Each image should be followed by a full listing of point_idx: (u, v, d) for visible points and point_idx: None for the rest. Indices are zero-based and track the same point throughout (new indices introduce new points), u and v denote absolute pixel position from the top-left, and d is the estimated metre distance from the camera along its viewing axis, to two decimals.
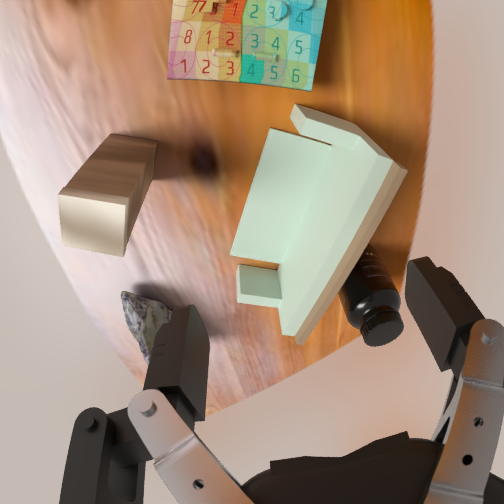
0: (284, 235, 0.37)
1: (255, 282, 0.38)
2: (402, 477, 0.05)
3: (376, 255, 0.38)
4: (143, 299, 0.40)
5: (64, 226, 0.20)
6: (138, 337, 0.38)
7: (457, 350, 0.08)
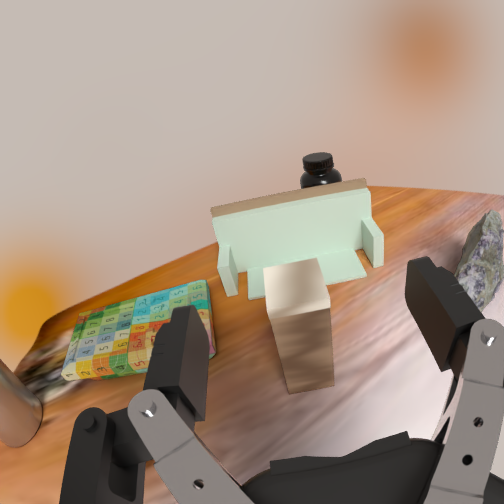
0: (327, 258, 0.46)
1: (369, 243, 0.42)
2: (402, 477, 0.05)
3: None
4: None
5: (303, 299, 0.23)
6: (475, 259, 0.29)
7: (457, 350, 0.08)
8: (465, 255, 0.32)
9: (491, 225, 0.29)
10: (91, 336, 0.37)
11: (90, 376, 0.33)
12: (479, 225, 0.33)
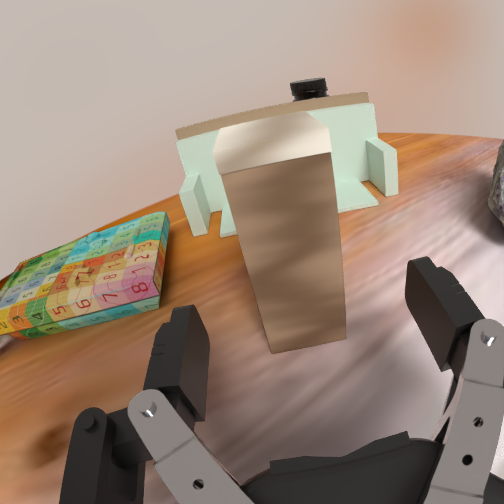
0: None
1: (377, 166, 0.32)
2: (402, 477, 0.05)
3: None
4: (498, 215, 0.21)
5: (279, 134, 0.12)
6: None
7: (457, 350, 0.08)
8: (501, 164, 0.22)
9: None
10: (20, 283, 0.26)
11: (7, 330, 0.22)
12: None
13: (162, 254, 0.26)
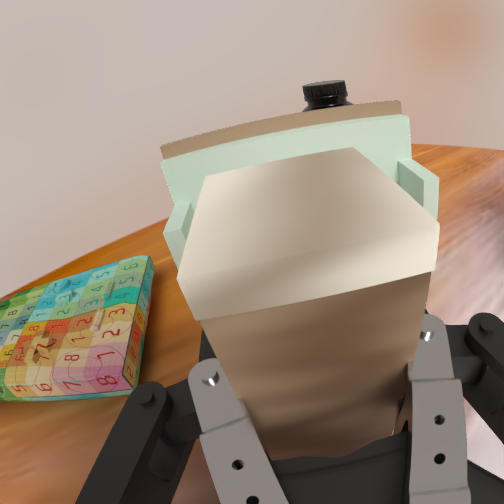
0: None
1: (413, 196, 0.25)
2: (402, 477, 0.05)
3: None
4: None
5: (333, 235, 0.05)
6: None
7: None
8: None
9: None
10: None
11: None
12: None
13: (139, 324, 0.19)
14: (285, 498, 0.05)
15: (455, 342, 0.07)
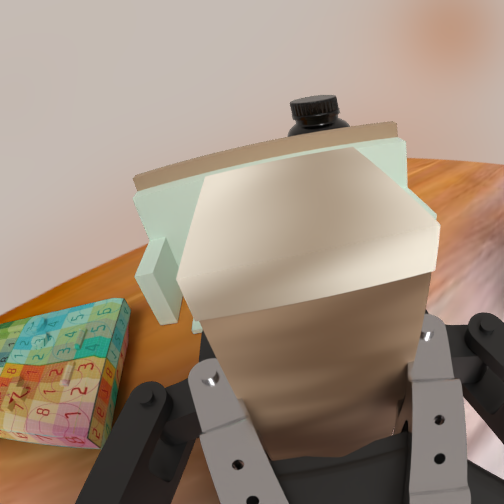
0: None
1: None
2: (402, 477, 0.05)
3: None
4: None
5: (333, 235, 0.05)
6: None
7: None
8: None
9: None
10: None
11: None
12: None
13: (108, 379, 0.17)
14: (285, 498, 0.05)
15: (455, 342, 0.07)
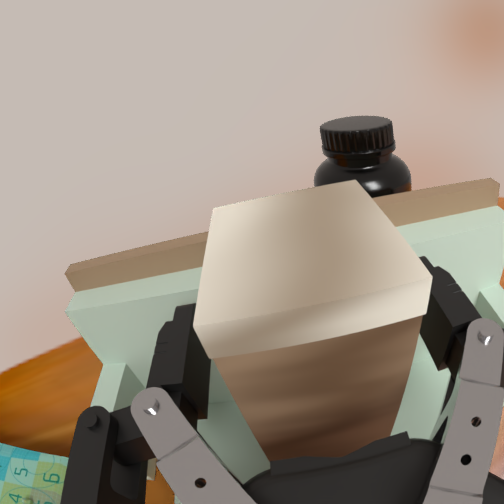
0: None
1: None
2: (402, 477, 0.05)
3: None
4: None
5: (334, 287, 0.06)
6: None
7: (454, 349, 0.08)
8: None
9: None
10: None
11: None
12: None
13: None
14: None
15: None
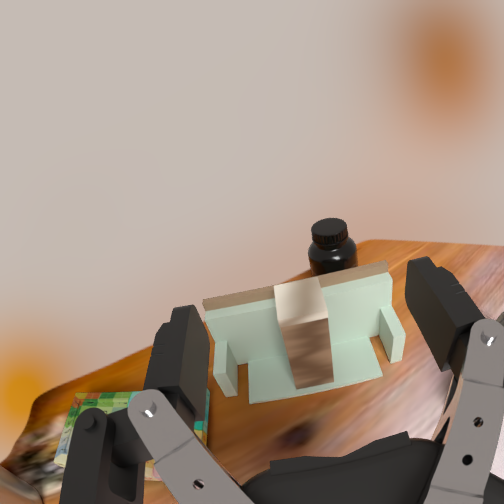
0: (338, 350, 0.38)
1: (387, 337, 0.35)
2: (402, 477, 0.05)
3: None
4: None
5: (306, 311, 0.29)
6: None
7: (457, 350, 0.08)
8: None
9: None
10: None
11: None
12: None
13: (204, 442, 0.29)
14: None
15: None
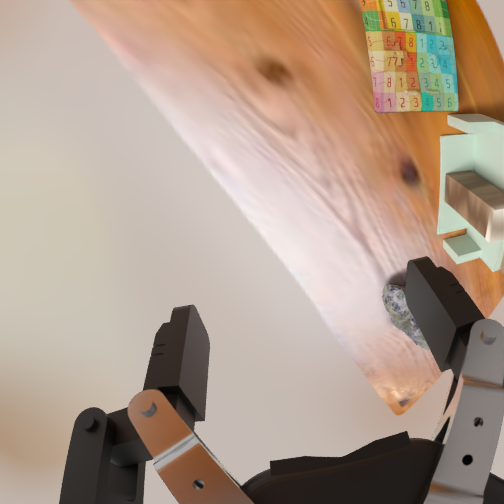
0: None
1: (460, 246, 0.43)
2: (402, 477, 0.05)
3: None
4: (401, 286, 0.48)
5: (493, 229, 0.31)
6: (410, 315, 0.45)
7: (457, 350, 0.08)
8: None
9: (422, 339, 0.46)
10: None
11: None
12: None
13: None
14: None
15: None
